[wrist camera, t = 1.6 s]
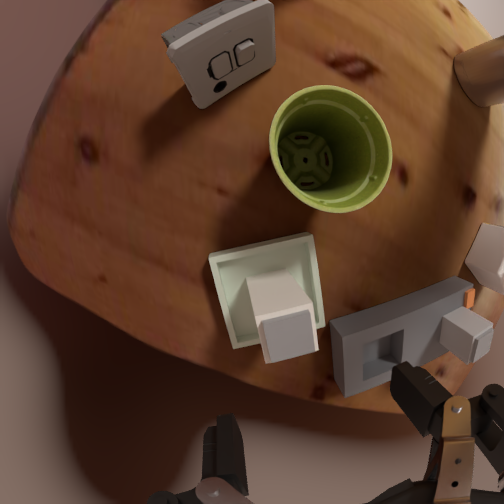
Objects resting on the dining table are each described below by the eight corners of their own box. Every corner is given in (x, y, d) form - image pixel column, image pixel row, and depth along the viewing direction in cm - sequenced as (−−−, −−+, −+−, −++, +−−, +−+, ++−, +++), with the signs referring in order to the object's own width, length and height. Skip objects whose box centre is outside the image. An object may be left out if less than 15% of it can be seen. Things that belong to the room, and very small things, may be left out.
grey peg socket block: (454, 275, 30) (508, 300, 20) (449, 330, 32) (493, 361, 22) (329, 320, 29) (370, 373, 19) (334, 379, 31) (365, 435, 21)
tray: (306, 231, 27) (312, 234, 25) (319, 318, 29) (325, 326, 27) (209, 253, 27) (208, 257, 25) (232, 339, 29) (233, 349, 27)
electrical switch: (200, 113, 24) (181, 67, 15) (173, 81, 23) (147, 31, 14) (276, 66, 23) (289, 12, 14) (246, 37, 23) (248, -19, 14)
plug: (285, 267, 27) (315, 305, 18) (292, 304, 28) (321, 354, 18) (245, 277, 27) (255, 320, 17) (254, 313, 28) (266, 368, 18)
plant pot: (248, 119, 24) (258, 87, 16) (338, 113, 25) (379, 87, 16) (263, 213, 26) (281, 222, 18) (352, 200, 27) (399, 205, 18)
